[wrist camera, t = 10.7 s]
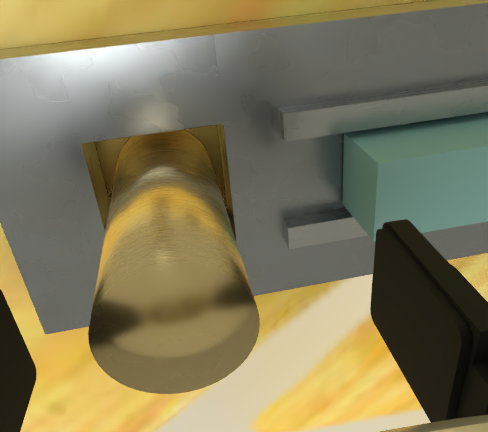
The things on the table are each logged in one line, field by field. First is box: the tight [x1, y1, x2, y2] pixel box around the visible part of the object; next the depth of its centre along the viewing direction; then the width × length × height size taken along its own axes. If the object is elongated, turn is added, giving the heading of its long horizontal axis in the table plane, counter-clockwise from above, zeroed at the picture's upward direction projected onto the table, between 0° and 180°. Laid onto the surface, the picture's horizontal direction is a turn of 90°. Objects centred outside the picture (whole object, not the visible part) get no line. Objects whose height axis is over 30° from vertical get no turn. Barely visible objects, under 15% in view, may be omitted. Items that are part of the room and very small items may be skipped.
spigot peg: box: [88, 129, 259, 394], centre depth 15 cm, size 4×4×10 cm
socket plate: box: [0, 0, 488, 334], centre depth 19 cm, size 23×11×3 cm, turn 95°
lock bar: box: [342, 113, 488, 241], centre depth 17 cm, size 10×3×3 cm, turn 95°
